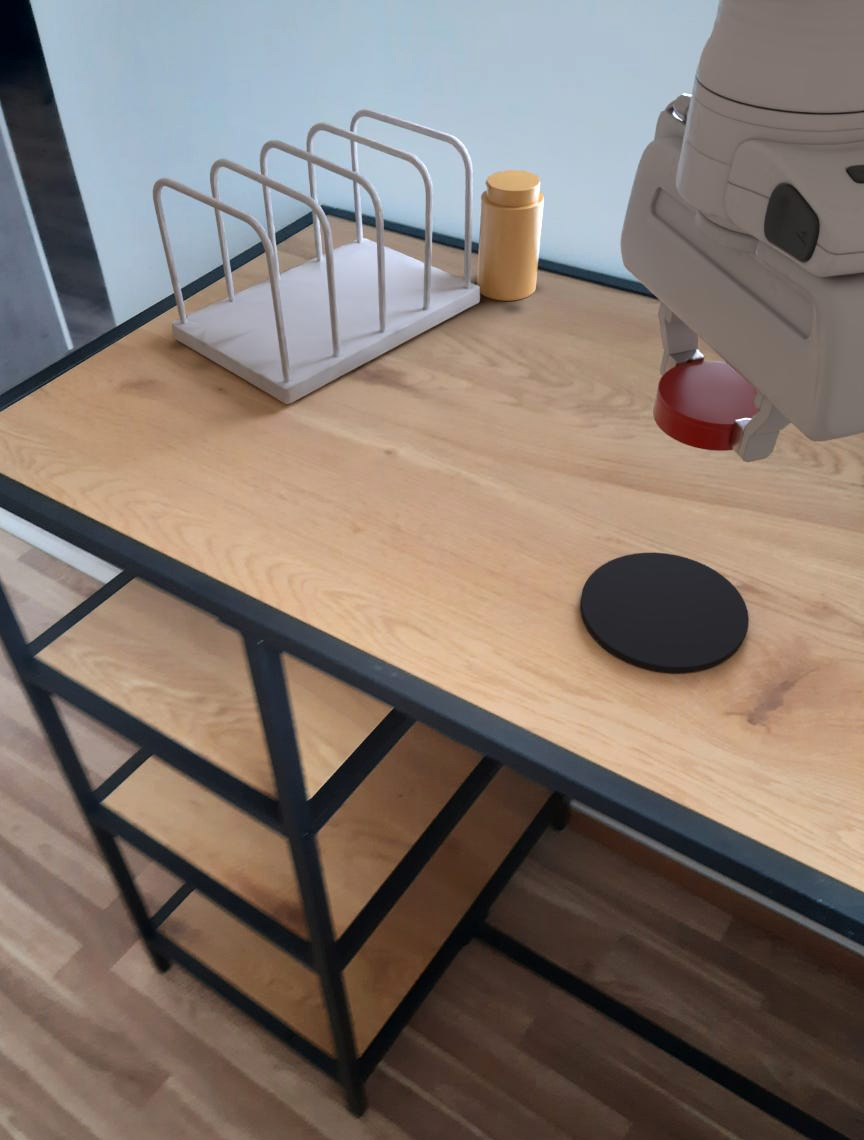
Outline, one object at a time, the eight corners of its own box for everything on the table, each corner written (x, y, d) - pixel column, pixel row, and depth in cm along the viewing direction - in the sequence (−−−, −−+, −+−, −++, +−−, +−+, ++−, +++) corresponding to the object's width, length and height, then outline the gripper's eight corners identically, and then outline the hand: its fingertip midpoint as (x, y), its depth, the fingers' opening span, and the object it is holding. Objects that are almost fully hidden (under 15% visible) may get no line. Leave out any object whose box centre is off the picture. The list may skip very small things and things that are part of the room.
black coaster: (693, 544, 68) (695, 538, 68) (780, 650, 61) (782, 644, 60) (553, 578, 66) (554, 571, 66) (626, 691, 59) (627, 685, 58)
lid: (650, 444, 51) (656, 417, 50) (654, 381, 55) (660, 355, 54) (770, 457, 50) (779, 430, 48) (765, 392, 54) (774, 366, 53)
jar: (520, 269, 98) (528, 164, 91) (545, 294, 95) (556, 186, 87) (467, 279, 97) (471, 173, 90) (491, 305, 93) (497, 197, 86)
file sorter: (362, 253, 102) (354, 95, 91) (481, 306, 93) (489, 138, 82) (172, 339, 91) (137, 170, 79) (287, 409, 82) (266, 229, 70)
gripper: (613, 89, 48) (580, 336, 58) (862, 257, 35) (762, 539, 45) (722, 75, 50) (671, 319, 60) (1004, 231, 36) (876, 512, 46)
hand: (712, 415), depth 52 cm, fingers closed on lid, 6 cm apart
